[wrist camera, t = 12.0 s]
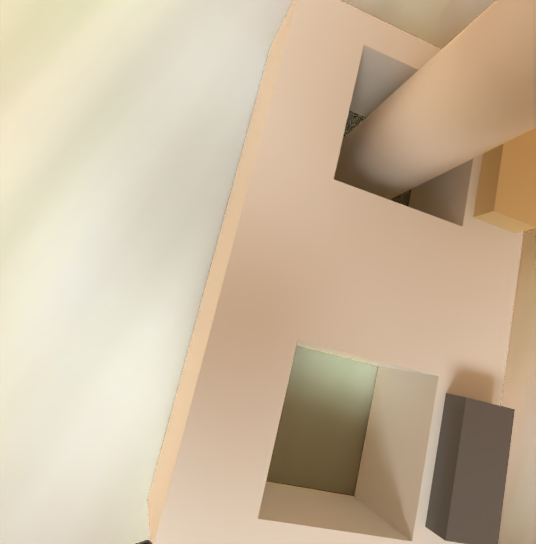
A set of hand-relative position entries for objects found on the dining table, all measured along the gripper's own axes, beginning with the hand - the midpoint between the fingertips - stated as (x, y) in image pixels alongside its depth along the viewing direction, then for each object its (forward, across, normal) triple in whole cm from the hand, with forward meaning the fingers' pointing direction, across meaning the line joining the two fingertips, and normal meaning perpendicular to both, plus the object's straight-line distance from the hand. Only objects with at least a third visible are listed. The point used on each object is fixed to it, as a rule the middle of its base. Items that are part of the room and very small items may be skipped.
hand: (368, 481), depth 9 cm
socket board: (+10, -3, +1) cm, 11 cm away
